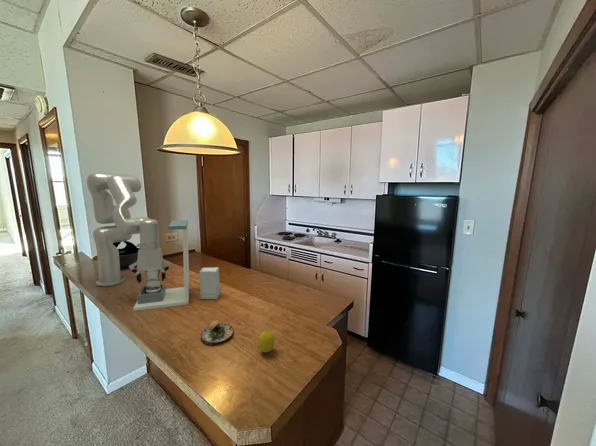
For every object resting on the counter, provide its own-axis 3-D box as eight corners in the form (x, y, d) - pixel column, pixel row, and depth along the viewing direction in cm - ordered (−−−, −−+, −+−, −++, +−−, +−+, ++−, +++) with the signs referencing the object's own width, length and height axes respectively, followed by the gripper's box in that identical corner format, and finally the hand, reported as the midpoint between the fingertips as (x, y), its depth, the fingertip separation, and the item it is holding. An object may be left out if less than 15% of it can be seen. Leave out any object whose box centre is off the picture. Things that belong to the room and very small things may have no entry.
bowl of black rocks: (109, 263, 169) (107, 236, 166) (143, 260, 178) (142, 235, 175) (100, 273, 151) (98, 243, 148) (139, 269, 160) (137, 241, 157)
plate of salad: (210, 351, 86) (210, 331, 85) (194, 336, 94) (194, 317, 93) (239, 336, 94) (239, 318, 93) (223, 324, 102) (223, 307, 101)
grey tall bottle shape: (154, 301, 116) (153, 259, 113) (142, 299, 117) (140, 258, 114) (164, 295, 122) (163, 256, 119) (152, 293, 123) (151, 254, 120)
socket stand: (141, 294, 126) (137, 220, 120) (189, 289, 134) (187, 220, 128) (133, 311, 109) (128, 227, 104) (188, 304, 117) (186, 225, 112)
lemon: (258, 347, 88) (258, 326, 87) (274, 347, 89) (274, 326, 88) (257, 358, 83) (257, 335, 82) (274, 357, 83) (274, 335, 82)
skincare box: (220, 294, 129) (220, 267, 127) (216, 299, 123) (216, 271, 121) (203, 294, 129) (203, 266, 126) (199, 299, 123) (199, 270, 120)
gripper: (125, 249, 109) (128, 286, 112) (169, 246, 116) (171, 282, 118) (129, 245, 116) (132, 280, 118) (171, 243, 122) (172, 276, 125)
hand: (151, 281), depth 118 cm, fingers open, 9 cm apart
